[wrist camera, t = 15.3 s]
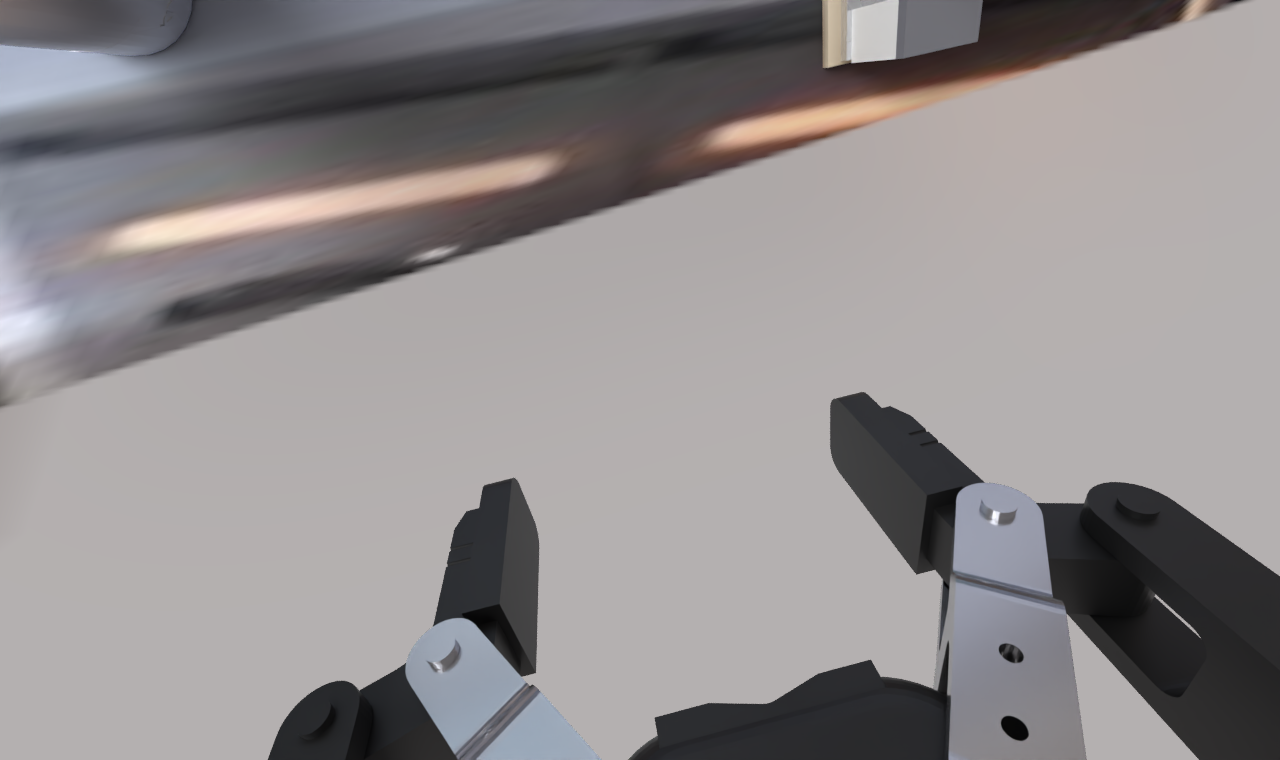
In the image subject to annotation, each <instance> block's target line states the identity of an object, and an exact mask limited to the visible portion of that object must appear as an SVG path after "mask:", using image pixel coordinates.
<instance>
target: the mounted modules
mask: <svg viewBox="0 0 1280 760" xmlns="http://www.w3.org/2000/svg"><path fill="white" fill-rule="evenodd" d="M982 2H983V0H887V1H883V2H879V3H875V4H872V5H868V6H864V7H861V8H857V9H853V10H852V58H851V63H859V62H870V61H881V60H892V59H903V58H908V57H912V56H916V55H921V54H925V53H929V52H934V51H938V50H943V49H947V48H951V47H956V46H960V45H965V44H969V43H973V42H978V35H979V27H980V19H981V11H982Z"/></svg>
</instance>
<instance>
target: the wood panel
mask: <svg viewBox="0 0 1280 760" xmlns="http://www.w3.org/2000/svg"><path fill="white" fill-rule="evenodd" d="M822 2H823V68H829V67H833V66H838V65H842V64H846V63H851V60H848V61H841V0H822Z"/></svg>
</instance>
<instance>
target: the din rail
mask: <svg viewBox="0 0 1280 760" xmlns="http://www.w3.org/2000/svg"><path fill="white" fill-rule="evenodd" d="M883 1H887V0H841V61H848V60H851V58H852V10H853V9H857V8H861V7H864V6H868V5H872V4H875V3H879V2H883Z"/></svg>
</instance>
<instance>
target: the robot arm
mask: <svg viewBox="0 0 1280 760" xmlns="http://www.w3.org/2000/svg"><path fill="white" fill-rule="evenodd" d="M191 10H192V0H0V45H5V46H17V47H29V48H41V49H54V50H66V51H75V52H87V53H99V54H111V55H123V56H140V55H150V54H153V53H156V52H159V51H161V50H164V49H166V48H167V47H168V46H170V45H171V44H172V43H174V42H175V41H176V40H177V39H178V38H179V37H180V35H181V34H182V32H183V31H184V29H185V28H186V26H187V23H188V20H189V17H190V14H191ZM830 407H831V408H830V416H831V417H830V447H831V448H830V449H831V454H832V458H833V461H834V464H835V466H836V468H837V470H838V471H839V473H840V474H841V475H842V476H843V478H844V479H845V481H846V482H847V483H848V485H849V486H850V487H851V488H852V490H853V491H854V492H855V494H856V495H857V496H858V498H859V499H860V500H861V502H862V503H863V504H864V506H865V507H866V508H867V510H868V511H869V512H870V514H871V515H872V516H873V518H874V519H875V520H876V521H877V523H878V524H879V525H880V527H881V528H882V530H883V531H884V532H885V534H886V535H887V536H888V537H889V539H890V540H891V541H892V543H893V544H894V545H895V547H896V548H897V549H898V551H899V552H900V553H901V555H902V556H903V557H904V559H905V560H906V561H907V563H908V564H909V565H910V567H911V568H912V569H913V570H914V572H915V573H916V574H920V573H924V572H928V571H932V570H936V571H937V572H938V574H939V575H940V576H941V577H942V579H943V580H942V585H941V597H940V612H939V627H938V642H937V658H936V669H935V677H934V685H933V689H932V688H929V687H926V686H924V685H921V684H918V683H914V682H911V681H907V680H903V679H897V678H889V677H880V675H879V673H878V672H877V670H876V668H875V666H874V665H873V663H872V661H871V660H868V661H864V662H860V663H857V664H853V665H849V666H846V667H842V668H838V669H834V670H830V671H827V672H823V673H820V674H817V675H815V676H814V677H812V678H811V679H809V680H808V681H806V682H804V683H803V684H801V685H799V686H798V687H796V688H794V689H793V690H791V691H790V692H788V693H786V694H785V695H783V696H782V697H780V698H778V699H777V700H775V701H773V702H771V703H768V704H723V703H708V704H704V705H700V706H696V707H693V708H689V709H685V710H681V711H678V712H674V713H670V714H667V715H663V716H659V717H655V722H656V728H657V734H658V736H656V737H655V738H653V739H652V740H650V741H648V742H647V743H646V744H645V745H643V746H642V747H641V748H640V749H638V750H637V751H636V752H635V753H634V754H633V755H632V757H630V758H629V759H628V760H1087V759H1086V752H1085V745H1084V738H1083V730H1082V724H1081V716H1080V709H1079V702H1078V695H1077V687H1076V680H1075V674H1074V666H1073V659H1072V651H1071V645H1070V637H1069V630H1068V623H1067V616H1066V614H1068V615H1069V616H1070V617H1071V619H1072V620H1073V621H1074V622H1075V623H1076V624H1077V625H1078V626H1079V627H1080V629H1081V630H1082V631H1083V632H1084V633H1085V634H1086V635H1087V636H1088V637H1089V638H1090V640H1091V641H1092V642H1093V643H1094V644H1095V645H1096V646H1097V647H1098V648H1099V650H1101V652H1102V653H1103V654H1104V655H1105V656H1106V657H1107V658H1108V659H1109V661H1110V662H1111V663H1112V664H1113V665H1114V666H1115V667H1116V668H1117V669H1118V671H1119V672H1120V673H1121V674H1122V675H1123V676H1124V677H1125V678H1126V679H1127V680H1128V681H1129V683H1130V684H1131V685H1132V686H1133V687H1134V688H1135V689H1136V690H1137V692H1138V693H1139V694H1140V695H1141V696H1142V697H1143V698H1144V699H1145V700H1146V701H1147V703H1148V704H1149V705H1150V706H1151V707H1152V708H1153V709H1154V710H1155V711H1156V712H1157V714H1158V715H1159V716H1160V717H1161V718H1162V719H1163V720H1164V721H1165V722H1166V724H1167V725H1168V726H1169V727H1170V728H1171V729H1172V730H1173V731H1174V732H1175V733H1176V735H1177V736H1178V737H1179V738H1180V739H1181V740H1182V741H1183V742H1184V743H1185V745H1186V746H1187V747H1188V748H1189V749H1190V750H1191V751H1192V752H1193V753H1194V755H1195V756H1196V757H1197V758H1198V759H1199V760H1280V576H1278V575H1277V574H1276V573H1274V572H1273V571H1271V570H1270V569H1269V568H1267V567H1266V566H1264V565H1263V564H1262V563H1260V562H1259V561H1257V560H1256V559H1255V558H1253V557H1252V556H1250V555H1249V554H1248V553H1246V552H1245V551H1243V550H1242V549H1241V548H1239V547H1238V546H1236V545H1235V544H1234V543H1232V542H1231V541H1229V540H1228V539H1226V538H1225V537H1224V536H1222V535H1221V534H1220V533H1218V532H1217V531H1215V530H1214V529H1212V528H1211V527H1210V526H1208V525H1207V524H1205V523H1204V522H1203V521H1201V520H1200V519H1198V518H1197V517H1196V516H1194V515H1193V514H1191V513H1190V512H1189V511H1187V510H1186V509H1184V508H1183V507H1182V506H1180V505H1179V504H1177V503H1176V502H1175V501H1173V500H1171V499H1170V498H1168V497H1167V496H1165V495H1163V494H1161V493H1159V492H1156V491H1154V490H1152V489H1149V488H1146V487H1143V486H1139V485H1135V484H1129V483H1120V482H1119V483H1118V482H1109V483H1103V484H1100V485H1097V486H1095V487H1093V488H1092V489H1091V490H1090V491H1089V492H1088V494H1087V497H1086V500H1085V503H1084V504H1071V503H1070V504H1068V503H1065V504H1063V503H1056V504H1055V503H1035V502H1034V501H1033V500H1032V499H1031V498H1030V497H1028V496H1027V495H1026V494H1024V493H1022V492H1020V491H1018V490H1016V489H1014V488H1011V487H1008V486H1005V485H1001V484H995V483H985V482H983V481H982V480H981V479H980V478H979V477H978V476H977V475H976V474H975V473H974V472H972V471H971V470H970V469H969V468H968V467H967V466H966V465H965V464H964V463H962V462H961V461H960V460H959V459H958V458H957V457H956V456H955V455H954V454H953V453H951V452H950V451H949V450H948V449H947V448H946V447H945V446H944V445H943V444H942V443H938V440H937V439H936V438H935V437H934V436H933V435H932V434H930V433H929V432H926V430H925V428H924V427H923V426H921V425H920V424H919V423H918V422H917V421H916V420H915V419H914V418H913V417H912V416H910V415H908V414H906V413H904V412H901V411H899V410H897V409H895V408H893V407H891V406H889V407H886V408H881V407H880V406H879V405H878V404H877V403H876V402H875V401H874V400H873V399H872V398H870V396H869V395H867V394H866V393H864V392H860V393H857V394H852V395H848V396H844V397H841V398H837V399H833V400H832V402H831V406H830ZM447 564H448V567H446V570H445V575H444V580H443V584H442V589H441V593H440V598H439V602H438V607H437V612H436V616H435V621H434V625H433V627H432V628H431V629H430V630H428V631H427V632H426V633H425V634H424V635H422V636H421V638H420V639H419V640H418V641H417V642H416V644H415V645H414V646H413V648H412V650H411V652H410V654H409V656H408V659H407V662H406V663H405V664H404V665H403V666H401V667H400V668H398V669H397V670H395V671H393V672H391V673H390V674H388V675H386V676H384V677H383V678H381V679H379V680H377V681H376V682H374V683H372V684H370V685H368V686H367V687H365V688H363V689H361V690H360V691H359V690H358V689H357V688H356V687H355V686H354V685H353V684H352V683H349V682H347V681H335V682H331V683H328V684H326V685H324V686H321V687H320V688H318V689H316V690H315V691H313V692H311V693H310V694H309V695H307V696H306V697H305V698H304V699H302V700H301V701H300V702H299V703H298V704H297V705H296V706H295V708H294V709H293V710H292V711H291V712H290V713H289V715H288V716H287V717H286V719H285V720H284V722H283V724H282V726H281V727H280V730H279V732H278V734H277V736H276V739H275V742H274V744H273V747H272V750H271V752H270V755H269V758H268V760H601V759H600V758H599V756H598V755H597V754H596V753H595V752H594V751H593V750H592V749H591V747H590V746H589V745H588V744H587V743H586V742H585V741H584V740H583V738H582V737H581V736H580V735H579V734H578V733H577V732H576V731H575V730H574V729H573V727H572V726H571V725H570V724H569V723H568V722H567V721H566V719H565V718H564V717H563V716H562V715H561V714H560V713H559V712H558V710H557V709H556V708H555V707H554V706H553V705H552V704H551V703H550V701H549V700H548V699H547V698H546V697H545V696H544V695H543V694H542V693H541V692H540V691H539V690H538V689H537V688H536V687H535V686H534V685H531V686H529V685H528V684H527V683H526V682H525V681H524V680H523V678H522V676H526V675H530V674H534V673H536V650H537V609H538V572H539V539H538V533H537V528H536V524H535V521H534V519H533V516H532V514H531V512H530V509H529V507H528V505H527V502H526V500H525V497H524V495H523V493H522V490H521V488H520V485H519V483H518V481H517V480H516V479H515V478H512V479H508V480H504V481H500V482H496V483H492V484H488V485H485V486H484V487H483V490H482V495H481V501H480V507H479V508H478V509H475V510H470V511H467V512H466V513H465V514H464V516H463V518H462V519H461V520H460V522H459V524H458V525H457V527H456V528H455V530H454V534H453V538H452V543H451V551H450V552H449V557H448V561H447ZM1155 594H1156V595H1157V596H1158V597H1159V598H1161V599H1162V600H1163V601H1164V602H1165V603H1166V604H1167V605H1168V606H1169V607H1171V608H1172V609H1173V610H1174V611H1175V612H1176V613H1177V614H1178V615H1180V616H1181V617H1182V618H1183V619H1184V620H1185V621H1186V622H1187V623H1188V624H1190V625H1191V626H1192V627H1193V628H1194V629H1195V630H1196V632H1197V633H1198V634H1199V636H1200V637H1201V638H1199V637H1198V636H1197V635H1196V634H1195V633H1194V632H1193V631H1192V630H1191V629H1189V628H1188V627H1187V626H1186V625H1185V624H1184V623H1183V622H1182V621H1181V620H1180V619H1178V618H1177V617H1176V616H1175V615H1174V614H1173V613H1172V612H1171V611H1169V609H1167V608H1166V607H1165V606H1164V605H1163V604H1162V603H1161V602H1160V601H1159V600H1158V599H1156V598H1155V597H1154V596H1155Z"/></svg>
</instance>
